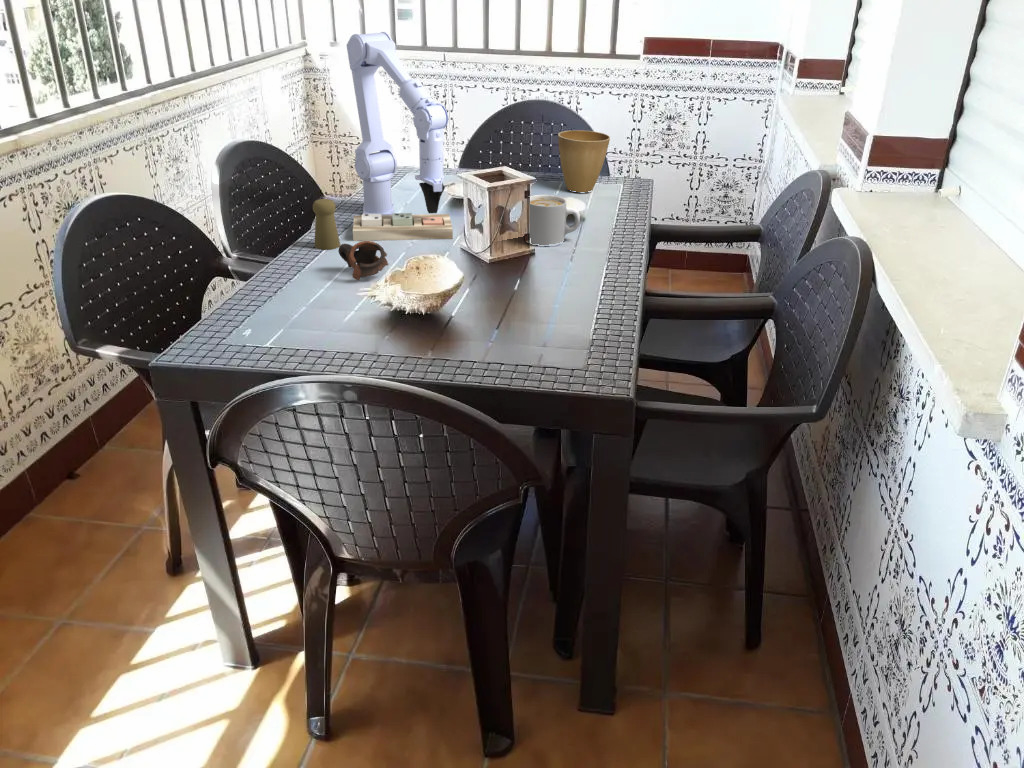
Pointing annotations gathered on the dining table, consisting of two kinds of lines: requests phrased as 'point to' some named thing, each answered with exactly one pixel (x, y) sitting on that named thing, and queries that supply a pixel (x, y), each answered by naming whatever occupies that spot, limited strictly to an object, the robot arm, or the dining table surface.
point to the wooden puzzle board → (403, 229)
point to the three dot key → (402, 219)
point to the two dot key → (371, 220)
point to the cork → (325, 225)
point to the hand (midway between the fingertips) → (432, 212)
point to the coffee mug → (550, 219)
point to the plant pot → (582, 158)
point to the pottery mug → (363, 258)
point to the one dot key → (432, 221)
